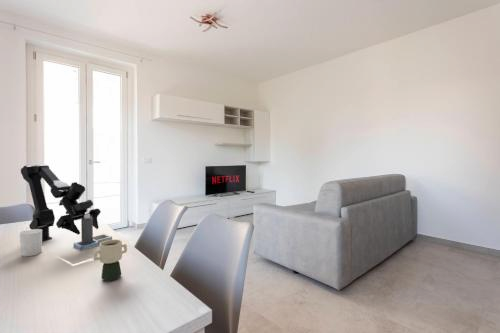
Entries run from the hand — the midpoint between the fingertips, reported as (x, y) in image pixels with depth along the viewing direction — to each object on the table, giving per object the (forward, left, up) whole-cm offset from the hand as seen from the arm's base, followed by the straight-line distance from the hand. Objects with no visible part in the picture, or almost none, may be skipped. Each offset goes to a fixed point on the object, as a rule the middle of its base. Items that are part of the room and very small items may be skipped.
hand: (88, 231), depth 124 cm
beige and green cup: (+39, -10, -8) cm, 41 cm away
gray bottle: (-1, 0, -7) cm, 7 cm away
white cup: (-14, -18, -8) cm, 24 cm away
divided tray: (-4, +3, -8) cm, 10 cm away
